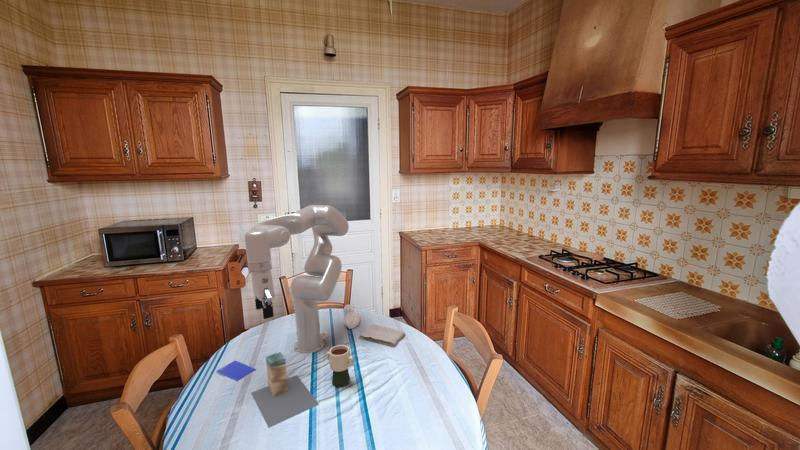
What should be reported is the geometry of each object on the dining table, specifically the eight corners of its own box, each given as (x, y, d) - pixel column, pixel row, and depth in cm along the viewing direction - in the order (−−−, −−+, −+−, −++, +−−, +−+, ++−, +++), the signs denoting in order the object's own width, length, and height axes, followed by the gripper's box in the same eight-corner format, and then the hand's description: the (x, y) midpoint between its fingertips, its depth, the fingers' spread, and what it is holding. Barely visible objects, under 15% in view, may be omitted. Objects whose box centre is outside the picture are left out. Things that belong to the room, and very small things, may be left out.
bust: (358, 323, 172) (345, 305, 173) (368, 317, 169) (355, 298, 170) (345, 334, 161) (331, 314, 162) (355, 328, 158) (342, 307, 159)
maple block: (283, 382, 122) (280, 351, 120) (288, 389, 118) (285, 358, 116) (268, 388, 119) (265, 356, 117) (273, 396, 115) (270, 363, 113)
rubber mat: (296, 376, 127) (296, 374, 126) (319, 406, 111) (319, 404, 111) (251, 394, 117) (251, 392, 117) (268, 429, 101) (268, 427, 101)
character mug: (359, 381, 123) (358, 347, 121) (349, 393, 117) (347, 358, 114) (334, 374, 127) (332, 342, 125) (322, 385, 121) (320, 351, 119)
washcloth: (371, 328, 163) (371, 322, 163) (406, 335, 156) (405, 329, 155) (358, 340, 153) (358, 333, 152) (394, 348, 145) (394, 342, 144)
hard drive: (216, 370, 129) (237, 380, 123) (235, 359, 136) (256, 368, 130) (216, 374, 130) (237, 384, 124) (236, 363, 137) (256, 372, 131)
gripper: (279, 269, 112) (283, 318, 115) (264, 258, 126) (268, 302, 129) (255, 274, 108) (260, 325, 111) (242, 262, 121) (247, 307, 125)
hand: (264, 312), depth 120 cm, fingers open, 9 cm apart
